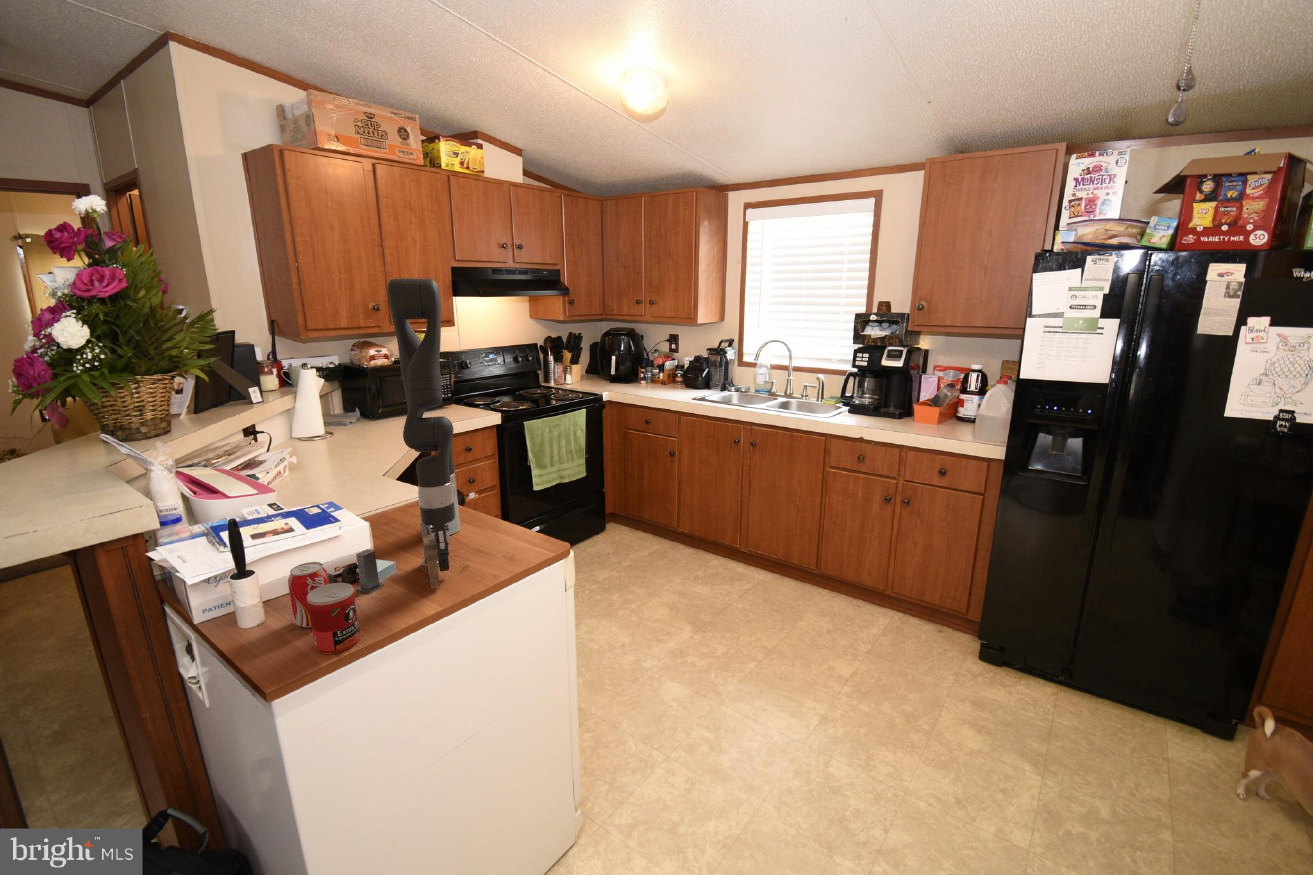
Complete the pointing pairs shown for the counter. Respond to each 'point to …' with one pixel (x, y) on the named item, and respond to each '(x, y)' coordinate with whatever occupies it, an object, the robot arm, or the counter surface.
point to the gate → (431, 561)
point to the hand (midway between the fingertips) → (444, 569)
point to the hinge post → (425, 531)
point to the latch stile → (368, 572)
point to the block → (385, 569)
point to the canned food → (333, 617)
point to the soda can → (305, 588)
